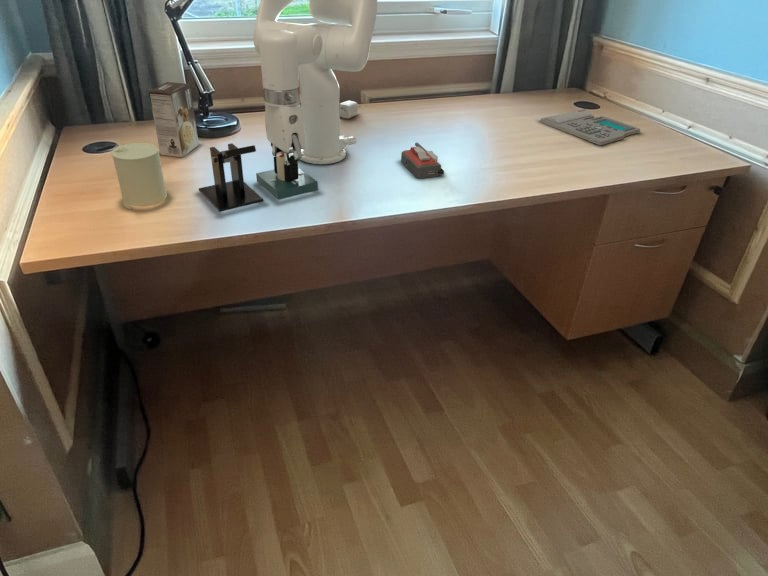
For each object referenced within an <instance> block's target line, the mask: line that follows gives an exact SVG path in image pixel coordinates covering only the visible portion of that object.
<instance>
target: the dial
mask: <svg viewBox="0 0 768 576" xmlns="http://www.w3.org/2000/svg"><path fill="white" fill-rule="evenodd" d="M291 155H293V153H289V158H290V156H291ZM276 161H277V175H278V179H279V180H282V181H285V176H284V164H286V163H285V157H284V151H281V152H278V153H277V154H276Z"/></svg>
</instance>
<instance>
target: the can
mask: <svg viewBox="0 0 768 576" xmlns="http://www.w3.org/2000/svg"><path fill="white" fill-rule="evenodd" d="M111 157H112V159H113V164H114V167H115V171H116V172H115V173H116V175H117V180H118V183H119V188H120V193H121V197H122V205H123V206H124V208H126V209H128V210H131V211H132V210H133V209H132V207H136V208H137V207H139V208H141V207H143V208H144V207H150V206H154V205H158V204H160V203H162V202H164V201H165V200H166V199H167V197H168V194H167V189H166V185H165V180H164V174H163V168H162V164H161V157H160V148H159V146H158V145H156V144H153V143H149V142H130V143H125V144H122V145H119V146H117V147H115V148H113V149H112V151H111Z"/></svg>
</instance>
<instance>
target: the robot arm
mask: <svg viewBox="0 0 768 576" xmlns="http://www.w3.org/2000/svg"><path fill="white" fill-rule="evenodd" d="M296 1H298V0H260V2H259V5H258V8H257V13H256V18H255V23H254V29H253V46H254V49H255V51H256V53H257V54H258V55H259V56H260V57H259V58H260V67H261V80H262V96H263V97H262V98H263V103H264V114H265V115H264V117H265V118H264V121H265V135H266V137H267V138H266V139H267V140H268V142H269V143H270V147H271V153H272V156H273V168H274V169H273V170H274V171H275V173H276V174H277V161H276V154H277V153H278V152H281V151H284V157H285V163H286V164H284V176H285V181H286V182H289V181H293V180H297V179H298V178H299V177H298V168H299V163H300V160H301V161H302V162H305V163H308V164H313V165H330V164H331V165H332V164H335V163H338V162H341V161H343V160H344V159H345V158H346V155H347V151H346V149H345V148H346V147H347V146H351V145H355V144H357V138H356V137H355V136H349V137H347V135H341V133H340V130H341V129H340V128H341V126H340V123H341V121H340V119H341V117H340V110H339V104H340V93H341V92H340V84H339V82H338V79H337V77H336V75H335V73H334V71H340V72H341V71H342V72H351V73H352V72H353V73H357V72H361V71H363V70H364V68H365V67H366V65H367V63H368V59H369V55H370V50H371V46H372V41H373V40H372V39H373V34H374V29H375V25H376V19H377V13H378V0H309V2H308V10H309V13H310V15H311V17H312V18H313V19H314V20H315V21H318V22H320V23H307V24H303V23H295V22H288V21H287V22H286V21H278V18H280V15H281V13H282V12H283V11H284V10H285V9H286V8H287V7H288V6H290V5H291V4H292V3H295V2H296ZM324 23H325V24H324ZM342 25H344V26H342ZM289 153H293V155H291V156H290V158H289Z"/></svg>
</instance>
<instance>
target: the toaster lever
mask: <svg viewBox="0 0 768 576" xmlns="http://www.w3.org/2000/svg"><path fill="white" fill-rule="evenodd" d="M220 152H221V153H222V157H223V165H225V164H228V163H229V164H230V162H232V161H234V157H235V156H238V155H241V156H242V155H246V154H251V153H255V152H257V148H256V145H255V144H253V145H247V146H242V147H237V149H232V150H228V149H226V150H221V151H220Z"/></svg>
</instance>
